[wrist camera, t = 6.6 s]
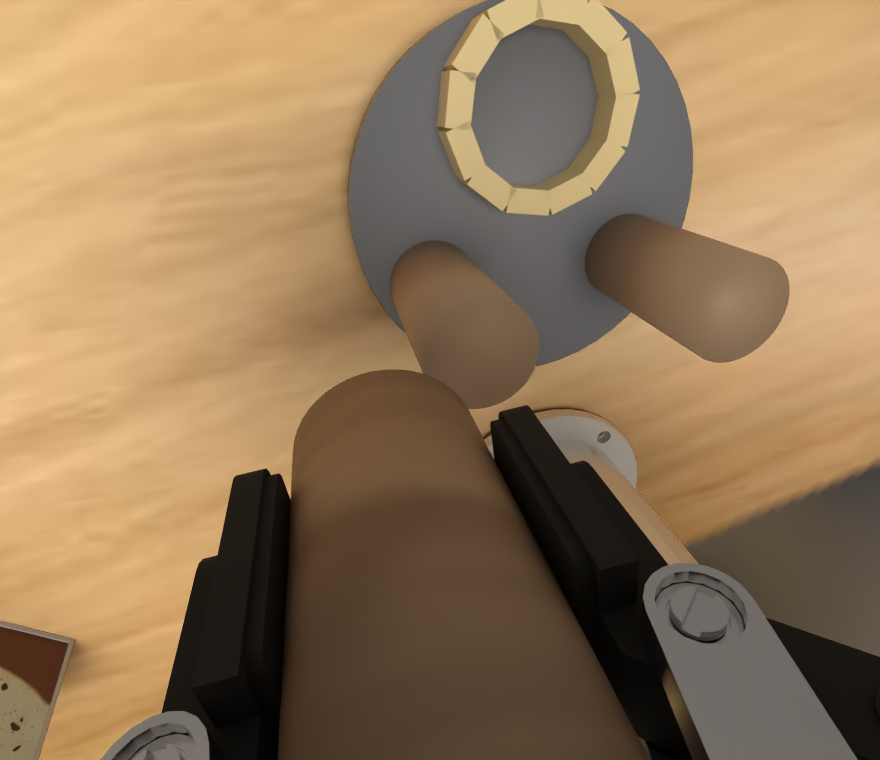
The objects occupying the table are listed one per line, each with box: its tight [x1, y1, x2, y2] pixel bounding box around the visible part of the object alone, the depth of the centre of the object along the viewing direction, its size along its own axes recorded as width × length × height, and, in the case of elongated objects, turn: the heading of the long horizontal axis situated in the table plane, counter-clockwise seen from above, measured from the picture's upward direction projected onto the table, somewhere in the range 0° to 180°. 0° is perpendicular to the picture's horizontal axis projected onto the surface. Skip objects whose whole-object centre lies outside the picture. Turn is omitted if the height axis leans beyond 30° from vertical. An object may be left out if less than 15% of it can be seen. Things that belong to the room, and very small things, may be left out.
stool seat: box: [348, 0, 789, 409], centre depth 21 cm, size 16×16×10 cm
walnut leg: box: [278, 370, 650, 760], centre depth 8 cm, size 4×4×8 cm
